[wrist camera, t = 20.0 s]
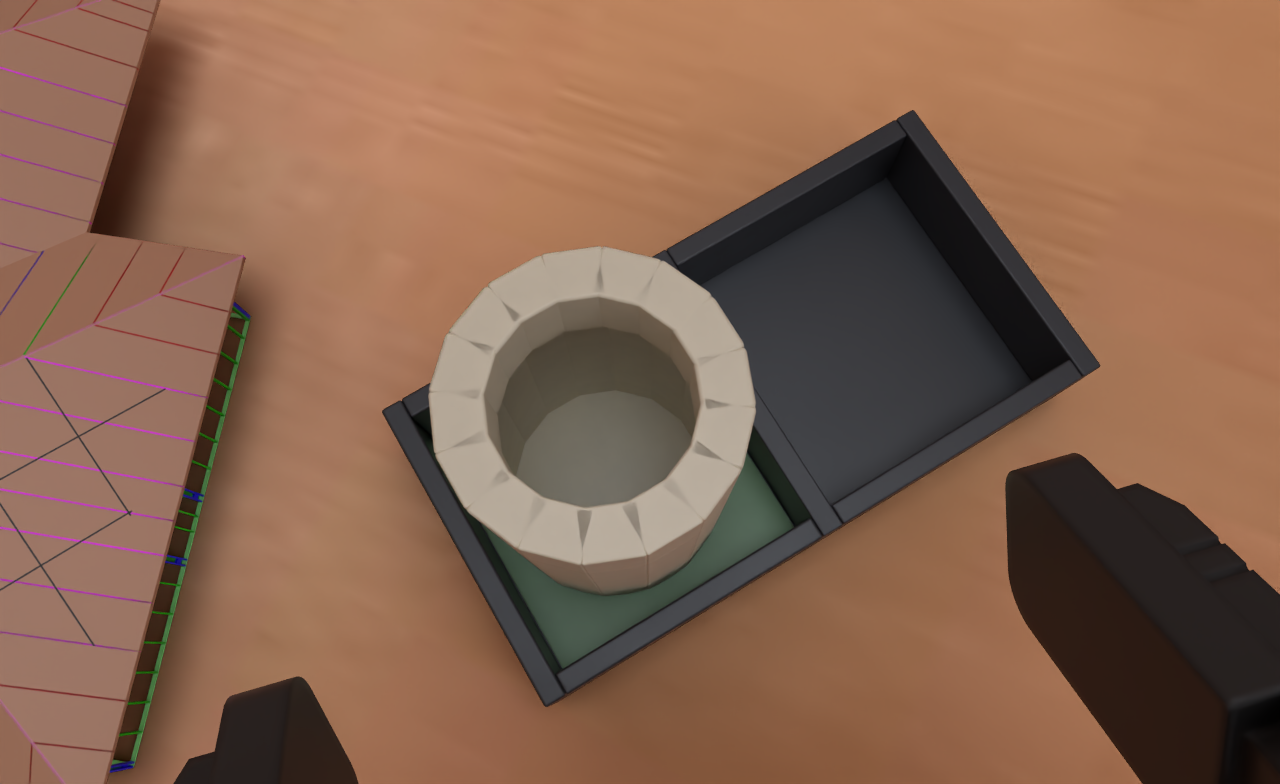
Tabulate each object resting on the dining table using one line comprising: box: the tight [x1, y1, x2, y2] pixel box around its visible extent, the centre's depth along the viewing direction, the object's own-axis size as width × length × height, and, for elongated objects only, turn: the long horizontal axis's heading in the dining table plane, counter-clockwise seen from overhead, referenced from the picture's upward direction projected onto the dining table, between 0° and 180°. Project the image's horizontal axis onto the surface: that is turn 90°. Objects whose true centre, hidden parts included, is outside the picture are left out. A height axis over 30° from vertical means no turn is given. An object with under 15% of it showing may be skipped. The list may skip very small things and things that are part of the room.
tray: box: [382, 110, 1100, 707], centre depth 30 cm, size 17×9×3 cm, turn 121°
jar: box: [428, 246, 756, 596], centre depth 25 cm, size 6×6×10 cm
